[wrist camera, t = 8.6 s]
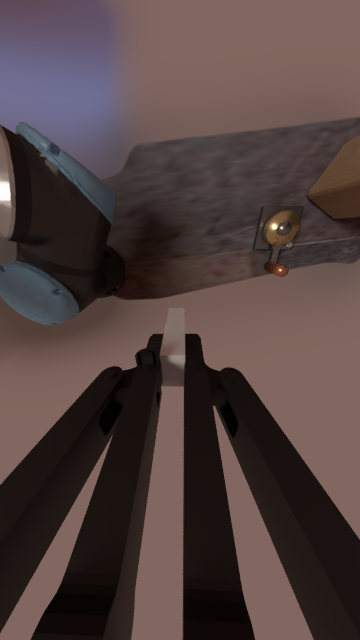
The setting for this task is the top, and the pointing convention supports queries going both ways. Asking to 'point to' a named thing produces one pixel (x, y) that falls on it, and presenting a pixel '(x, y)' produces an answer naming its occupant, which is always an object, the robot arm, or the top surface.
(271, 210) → the level base
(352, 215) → the wooden block
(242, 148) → the top surface
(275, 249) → the crank handle
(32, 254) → the robot arm
